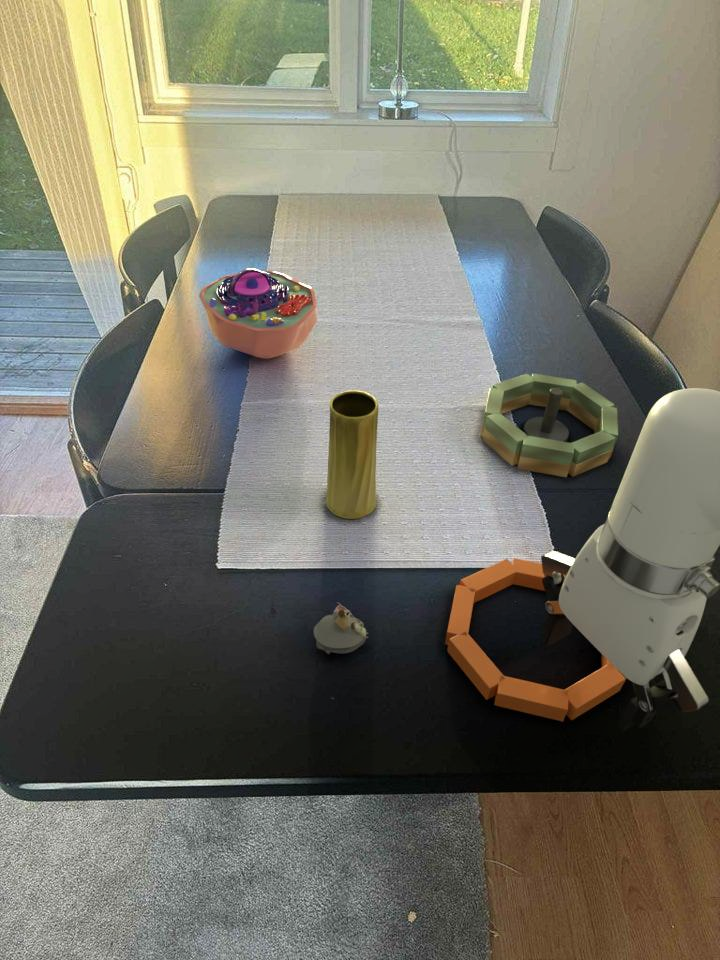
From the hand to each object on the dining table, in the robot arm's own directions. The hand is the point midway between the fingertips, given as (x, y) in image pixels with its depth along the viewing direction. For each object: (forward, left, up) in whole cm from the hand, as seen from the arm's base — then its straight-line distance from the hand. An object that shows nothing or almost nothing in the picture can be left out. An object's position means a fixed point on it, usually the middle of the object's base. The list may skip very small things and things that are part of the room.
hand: (591, 677), depth 63 cm
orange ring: (+7, 0, -3) cm, 8 cm away
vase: (+33, +6, -3) cm, 34 cm away
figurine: (+16, +17, -3) cm, 23 cm away
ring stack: (+32, -24, -3) cm, 40 cm away
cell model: (+71, 0, -3) cm, 71 cm away
